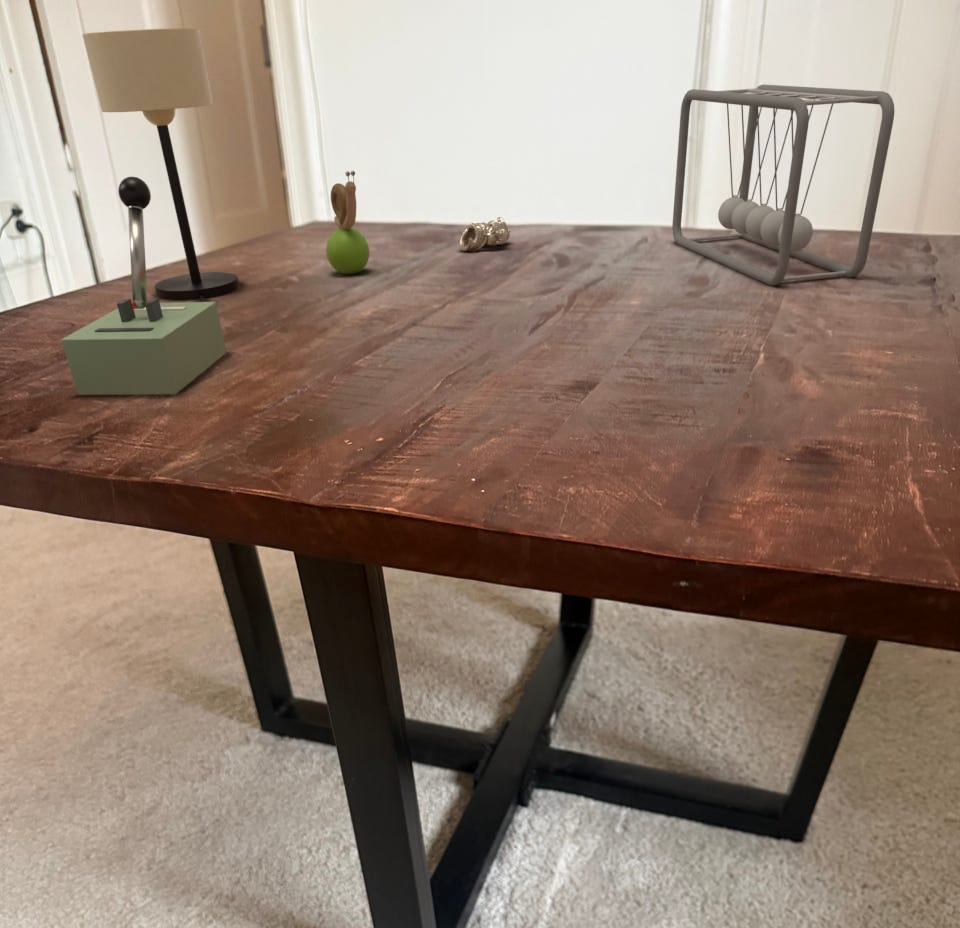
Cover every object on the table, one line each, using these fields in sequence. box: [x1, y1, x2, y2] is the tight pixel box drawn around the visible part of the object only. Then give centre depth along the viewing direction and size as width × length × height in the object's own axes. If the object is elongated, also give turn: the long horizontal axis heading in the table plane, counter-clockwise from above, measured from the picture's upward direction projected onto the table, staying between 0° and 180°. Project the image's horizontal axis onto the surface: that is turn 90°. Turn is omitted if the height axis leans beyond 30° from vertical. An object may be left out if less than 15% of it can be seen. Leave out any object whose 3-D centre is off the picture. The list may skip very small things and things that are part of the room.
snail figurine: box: [325, 170, 370, 276], centre depth 108 cm, size 5×6×12 cm
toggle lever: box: [117, 176, 152, 309], centre depth 76 cm, size 3×3×11 cm
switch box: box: [60, 297, 227, 396], centre depth 78 cm, size 12×9×7 cm
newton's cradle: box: [671, 84, 895, 287], centre depth 102 cm, size 30×10×18 cm, turn 12°
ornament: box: [459, 216, 511, 252], centre depth 120 cm, size 8×7×4 cm
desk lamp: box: [82, 27, 240, 302], centre depth 97 cm, size 20×12×26 cm, turn 24°
